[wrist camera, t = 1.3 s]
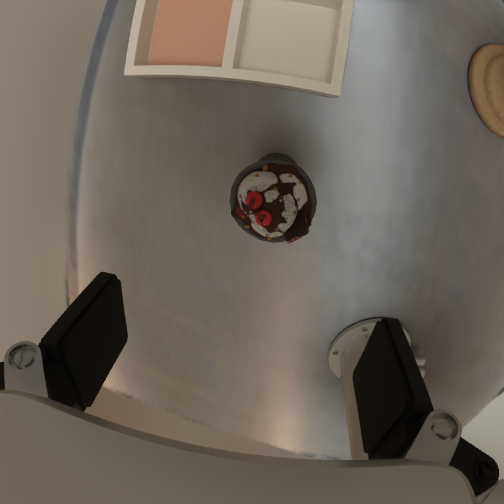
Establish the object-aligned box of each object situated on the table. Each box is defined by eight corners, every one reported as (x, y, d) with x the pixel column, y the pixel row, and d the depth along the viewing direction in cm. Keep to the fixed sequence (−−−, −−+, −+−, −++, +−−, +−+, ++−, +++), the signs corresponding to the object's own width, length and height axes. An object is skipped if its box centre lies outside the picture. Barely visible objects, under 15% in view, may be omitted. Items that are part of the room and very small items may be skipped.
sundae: (238, 153, 32) (203, 185, 19) (300, 140, 31) (313, 162, 17) (252, 210, 35) (231, 279, 21) (312, 199, 33) (330, 262, 20)
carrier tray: (346, 7, 24) (354, -5, 20) (333, 98, 28) (339, 96, 25) (155, -8, 24) (141, -18, 21) (140, 77, 29) (123, 75, 25)
